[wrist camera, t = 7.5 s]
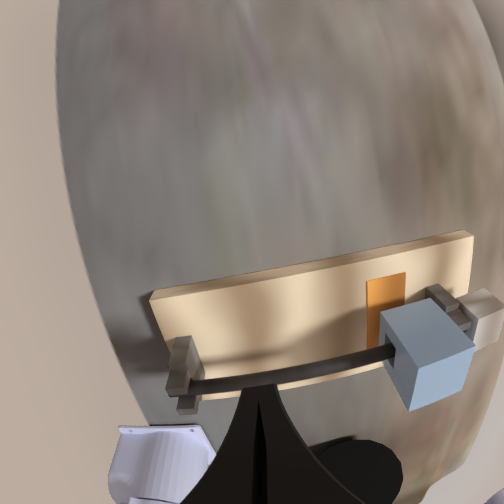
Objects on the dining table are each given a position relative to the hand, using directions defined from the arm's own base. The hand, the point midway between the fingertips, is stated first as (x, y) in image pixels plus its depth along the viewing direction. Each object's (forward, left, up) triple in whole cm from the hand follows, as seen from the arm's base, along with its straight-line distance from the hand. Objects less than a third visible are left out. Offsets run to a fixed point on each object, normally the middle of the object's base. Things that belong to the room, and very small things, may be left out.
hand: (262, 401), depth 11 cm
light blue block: (+10, -4, -7) cm, 13 cm away
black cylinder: (+7, -38, -11) cm, 40 cm away
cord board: (+5, -4, -10) cm, 12 cm away
